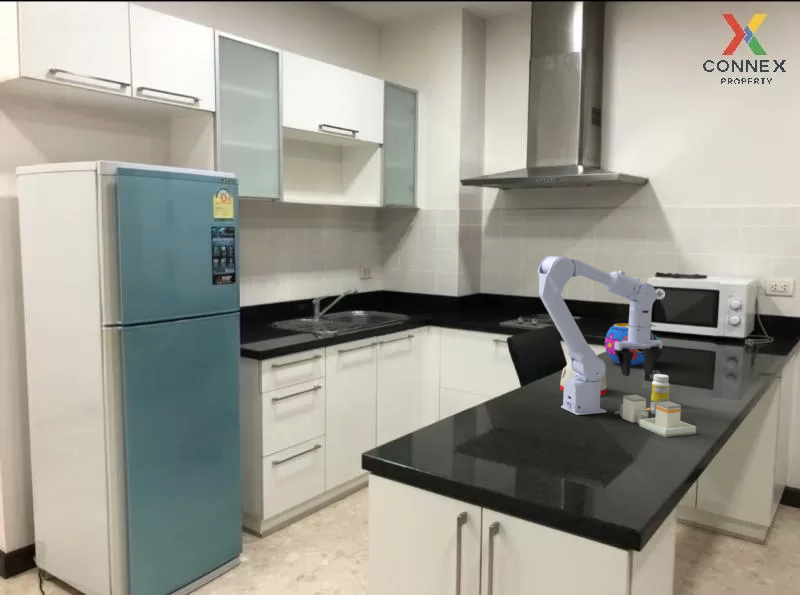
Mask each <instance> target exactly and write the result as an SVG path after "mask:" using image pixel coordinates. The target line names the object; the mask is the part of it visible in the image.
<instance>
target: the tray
mask: <svg viewBox="0 0 800 595" xmlns="http://www.w3.org/2000/svg"><path fill="white" fill-rule="evenodd" d="M638 425H639V427H641V428H643V429H645V430H648V431H650V432H653V433H654V434H657V435H659V436H662V437H664V438H668V437H677V436H689V435H696V433H697V432H696V431H697V426H696V425H693V424H690V423H687V422H685V421H682V420H680V427H679V428H670V429H665V428H662V427H660V426H658V425H655V417H648V418H647V419H640V423H638Z"/></svg>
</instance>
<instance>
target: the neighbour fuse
mask: <svg viewBox="0 0 800 595" xmlns="http://www.w3.org/2000/svg"><path fill="white" fill-rule="evenodd" d="M622 398H623V400H622V405H623V414H622V416H621V417H622V419H624V420H625V421H628V422H630V423H636V421H637V411H646V409H647V398H646V397H645V396H644V397H643V396H641V395H638V394H630V395H623V396H622Z"/></svg>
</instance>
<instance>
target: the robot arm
mask: <svg viewBox="0 0 800 595" xmlns="http://www.w3.org/2000/svg"><path fill="white" fill-rule="evenodd" d="M537 273H538V276H539V277H538V295H539V298H540V300H541V301H542V303H543V305H544V307H545V309H546V310H547V312H548V314H549V316H550V318H551V320H552V322H553V323H554V325H555V327H556V329H557V331H558V332H559V334H560V336H561V338H562V340H563V341H564V343H565V345H566V347H567V349H568V356H569V358H570V360H571V366H572V369H573V370H574V371H575V374H574V378H573V379H571V380H568V381H566V382H565V384H564V392H563V394H562V396H563V397H562V398H563V399H562V405H561V407H560V408H561V409H564V410H566V411H567V412H570V413H572V414H574V415H576V416H580V415H592V414H593V415H595V414H603V413H607V410H606V409H603V408H600V407H601V395H600V392H601V378H602V377H603V376H604V374H605V375H606V371H607V368H606V366H607V365H606V364H605V361H604V360H603V359H602V358H600V357H599V356H598V355H597V354H596V352H595V351H594V350H593V349H592V348H591V346H590V345H589V344H588V343H587V340H586V339H585V337H584V336H583V333H582V331H581V329H580V328H579V326H578V324H577V323H576V321H575V319H574V317H573V315H572V313H571V312H570V310H569V308H568V305H567V304H566V301H564V298H563V296H562V292H563V291H564V290H563V289H564V287H565V286H566V284H568V282H569V281H570V280H571V278H572V277H575V278H576V277H579V276H580V277H584V278H586V279H588V280H592V281H593V282H597V283H600V284H603V285H604V287H605V289H606V291H608V292H610V293H613V294H615V295H618V296H620V297H622V298H624V299H628V301H629V310H628V311H629V315H628V324H629V329H628V341H622V342H615V345H614V349H615V353H616V355H617V357H618V359H619V362H620V364H619V365H620V369H621V374H622V376H626V377H629V376H630V375H631V374H630V373H631V366H630V365H631V360H632V357H633V354H634V353H633V352H630V350H629V349H643V352H644V359H645V363H644V369H643V370H644V373H645V374H647V375H653V372H654V369H655V366H656V363H657V361H658V360H659V358H660V357H661V355H662V354H663V349H662V348H663V342H664V341H662V340H659V339H658V340H650V332H651V333H652V331H651V328H652V312H653V310H652V309H653V304H654V302H655V301H656V300H657V297H658V293H657V291H656V288H655V287H654V286H653V285H652V284H651V283H647V282H641V278H638V277H631V276H629V275H626V272H625V271H622V270H618V271H616V270H615V271H612V272H610V273H608V272H607V271H604V270H602V269H599V268H597V267H595V266H593V265H591V264H589V263H586V262H584V261H581V260H579V259H575V258H574V259H573V258H569V257H567V256H557V255H547V256H546V257H545V258H543V259H542V261H541V263H540V265H539V267H538V268H537ZM635 346H640V347H635Z"/></svg>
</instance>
